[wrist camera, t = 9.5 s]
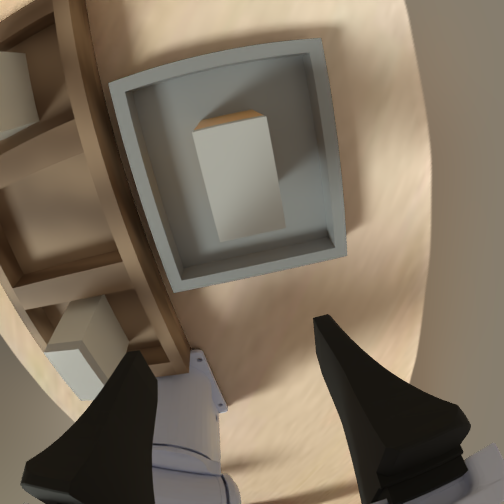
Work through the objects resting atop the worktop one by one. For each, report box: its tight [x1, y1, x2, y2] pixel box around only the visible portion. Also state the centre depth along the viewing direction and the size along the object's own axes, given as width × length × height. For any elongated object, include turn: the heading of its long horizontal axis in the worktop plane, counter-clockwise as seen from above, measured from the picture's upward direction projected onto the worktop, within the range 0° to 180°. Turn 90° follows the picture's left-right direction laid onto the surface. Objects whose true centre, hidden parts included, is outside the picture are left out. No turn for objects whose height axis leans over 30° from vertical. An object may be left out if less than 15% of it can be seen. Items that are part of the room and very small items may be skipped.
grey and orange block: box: [192, 109, 286, 242], centre depth 16 cm, size 5×3×6 cm, turn 11°
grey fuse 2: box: [44, 295, 129, 401], centre depth 20 cm, size 5×3×6 cm, turn 11°
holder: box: [0, 0, 191, 377], centre depth 18 cm, size 28×12×3 cm, turn 11°
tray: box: [108, 38, 347, 293], centre depth 18 cm, size 14×12×2 cm
